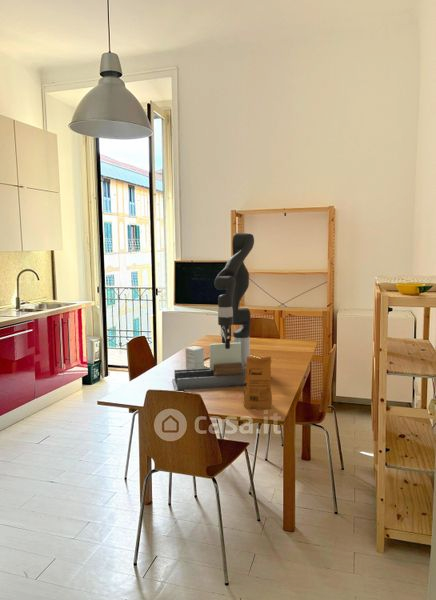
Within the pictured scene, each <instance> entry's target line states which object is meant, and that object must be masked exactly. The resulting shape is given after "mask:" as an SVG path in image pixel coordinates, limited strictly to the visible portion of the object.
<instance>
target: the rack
mask: <svg viewBox="0 0 436 600" xmlns="http://www.w3.org/2000/svg"><path fill="white" fill-rule="evenodd" d="M242 368H243V375H228V376H214V373H213V370H210V367H204V368H199V369H186V368H185V369H174V370H173V371H174V372H173V374H174V378H172V380H171V381H172V385H173V388H174V391H175V390H176V391H184V392H185V391H189V390H192V391H193V390H204V389H205V390H206V389H220V388H222V389H223V388H235V387H244V382H245V374H246V367H245V366H242Z"/></svg>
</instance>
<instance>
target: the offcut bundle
mask: <svg viewBox="0 0 436 600" xmlns="http://www.w3.org/2000/svg"><path fill="white" fill-rule="evenodd" d="M213 373H214V376H228V375H243V368H242V363H241V362H237V363H220V364H213Z"/></svg>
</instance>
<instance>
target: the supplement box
mask: <svg viewBox="0 0 436 600" xmlns="http://www.w3.org/2000/svg"><path fill="white" fill-rule="evenodd" d="M204 349H205V348H204V347H203V346H199V345H198V346H197V345H193V346H189V347H185V369H200V368H205V360H204V359H205V358H204Z"/></svg>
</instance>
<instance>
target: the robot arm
mask: <svg viewBox="0 0 436 600" xmlns="http://www.w3.org/2000/svg"><path fill="white" fill-rule="evenodd" d="M254 245H255V238H254V235H253V234H252V233H246V232H245V233H244V232H235V233H234V234H233V236H232V242H231V246H232V256H231V257H230V258H229V259H228V260H227V262H226V264H225V266H224V267H223V269H222V270H221V271H220V272H219V273H218V274H217V276H216V277H215V279H214V280H213V281H214V282H213V284H214V287H215V289H216V290H219V291H220V290H221V291H222V290H223V291H225V293H224V294H220V295H218V298H217V301H218V302H217V304H218V310H217V325H218V326H220V337H221V343H225V348H226V349H230V343H231V341H232V339H233V342H232V343H239V342H240V343H241V363H242V366H244V367H246V365H247V357H251V356H250V353H251V351H250V348H251V347H250V346H251V345H250V342H251V341H250V333H251V319H252V318H251V311H250V309H249V308H247V307H243V308H239V306H240V302H241V300H242V299H243V297H244V295H245V294H246V292H247V291H248V288H249V285H250V273H249V271H248V269H247V267H246V265H245V263H244V261H245V260H246V258H248V255H249V254H250V253H251V252H252V249H253V248H254ZM232 325H233V326H240V325H241V326H240V327H239V328H238V329H236V330H234V331H232V329H231V328H230V326H232ZM231 331H232V332H231ZM232 336H233V337H232Z"/></svg>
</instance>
